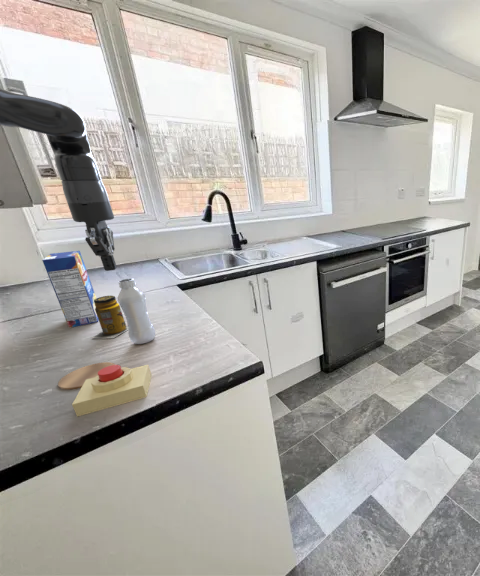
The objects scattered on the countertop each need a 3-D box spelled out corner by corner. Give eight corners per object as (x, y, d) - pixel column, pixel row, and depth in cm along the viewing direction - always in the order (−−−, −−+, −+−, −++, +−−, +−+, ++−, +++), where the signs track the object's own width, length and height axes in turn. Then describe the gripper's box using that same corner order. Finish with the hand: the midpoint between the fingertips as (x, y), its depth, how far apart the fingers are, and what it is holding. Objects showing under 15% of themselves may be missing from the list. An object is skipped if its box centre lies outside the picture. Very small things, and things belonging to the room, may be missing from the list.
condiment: (133, 326, 106) (123, 294, 102) (113, 338, 98) (101, 303, 94) (112, 327, 106) (101, 294, 102) (90, 339, 98) (77, 304, 94)
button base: (77, 416, 65) (68, 397, 63) (90, 390, 73) (83, 372, 72) (146, 397, 71) (140, 378, 69) (151, 375, 79) (146, 358, 77)
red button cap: (98, 384, 68) (95, 376, 67) (102, 375, 71) (100, 367, 70) (121, 379, 70) (118, 371, 69) (124, 370, 73) (122, 362, 72)
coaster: (51, 395, 72) (50, 393, 72) (67, 371, 81) (66, 369, 81) (111, 380, 77) (110, 378, 77) (120, 359, 86) (119, 358, 86)
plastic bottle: (126, 347, 92) (105, 284, 86) (139, 337, 99) (121, 277, 92) (150, 345, 93) (131, 283, 87) (161, 335, 99) (144, 276, 93)
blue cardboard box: (74, 316, 115) (50, 253, 107) (101, 311, 119) (79, 250, 111) (69, 328, 106) (42, 260, 98) (97, 322, 110) (74, 256, 102)
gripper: (77, 199, 78) (99, 266, 83) (56, 202, 67) (83, 278, 72) (115, 198, 81) (134, 262, 87) (100, 201, 70) (123, 273, 76)
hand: (111, 269), depth 80 cm, fingers closed
